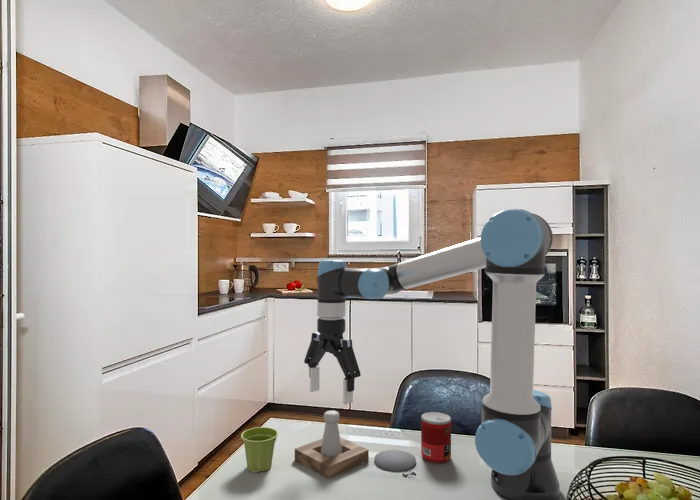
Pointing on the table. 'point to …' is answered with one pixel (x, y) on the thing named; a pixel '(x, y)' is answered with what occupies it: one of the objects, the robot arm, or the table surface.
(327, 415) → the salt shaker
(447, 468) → the table surface
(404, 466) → the coaster
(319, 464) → the collar block
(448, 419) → the canned food
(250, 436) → the plant pot
